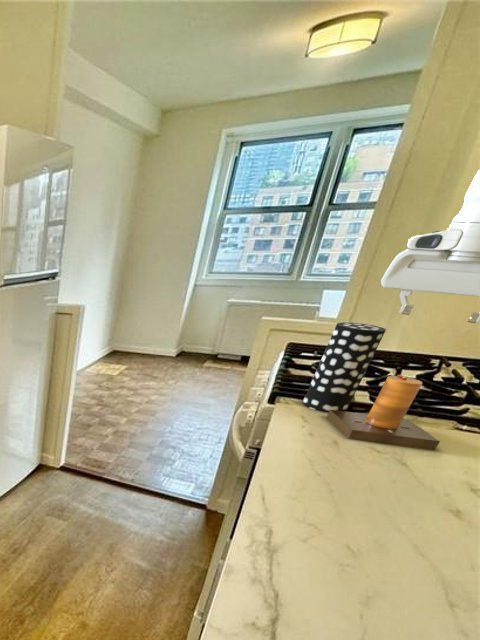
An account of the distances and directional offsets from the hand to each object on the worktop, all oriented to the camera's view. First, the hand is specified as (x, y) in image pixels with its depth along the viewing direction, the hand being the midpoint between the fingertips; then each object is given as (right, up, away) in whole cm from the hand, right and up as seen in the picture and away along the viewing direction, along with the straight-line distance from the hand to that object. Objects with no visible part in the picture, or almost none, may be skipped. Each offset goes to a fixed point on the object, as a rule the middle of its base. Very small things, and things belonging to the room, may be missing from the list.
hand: (437, 318), depth 93 cm
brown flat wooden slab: (0, -22, +11) cm, 25 cm away
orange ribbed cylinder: (0, -20, +10) cm, 23 cm away
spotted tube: (+1, -16, +25) cm, 29 cm away
